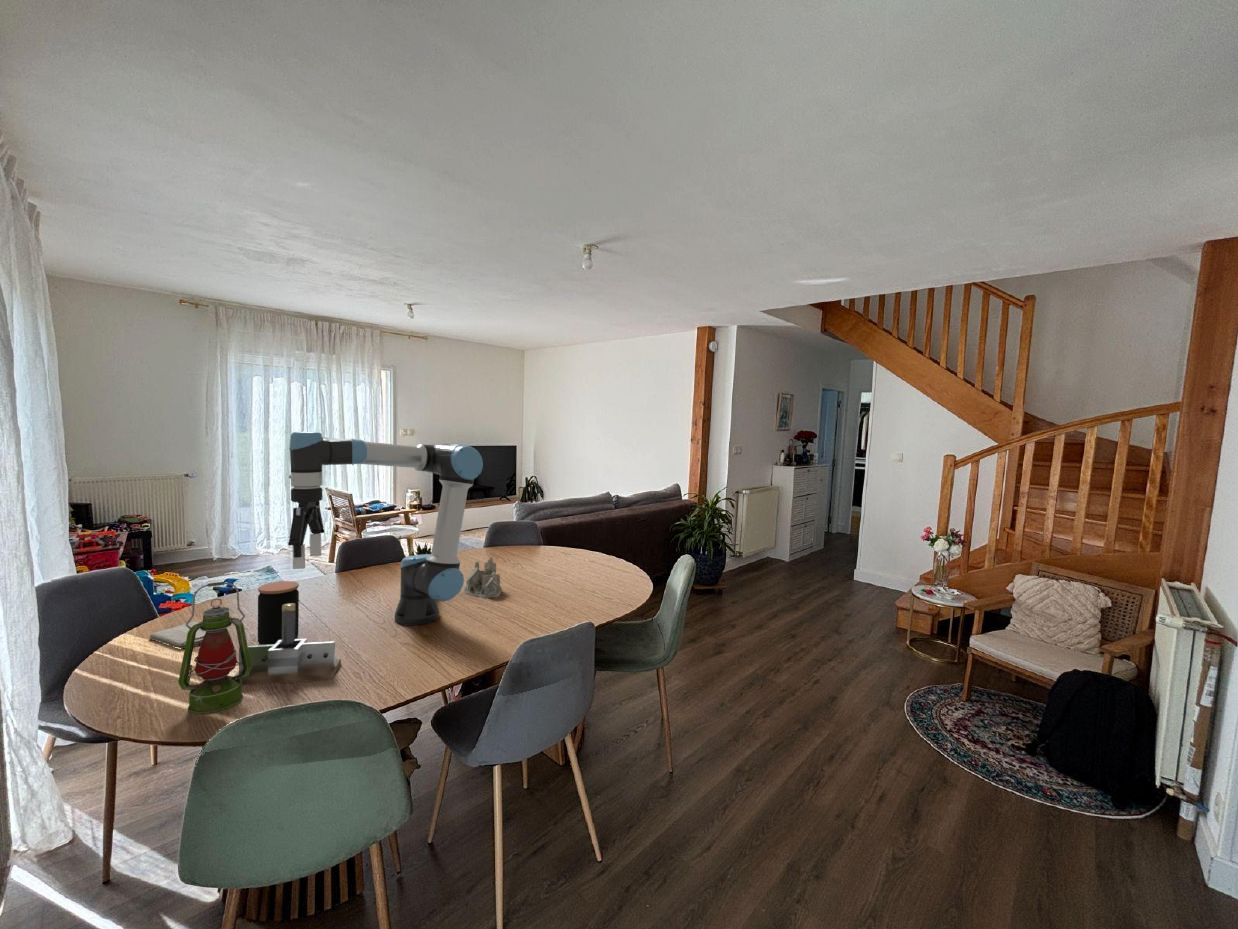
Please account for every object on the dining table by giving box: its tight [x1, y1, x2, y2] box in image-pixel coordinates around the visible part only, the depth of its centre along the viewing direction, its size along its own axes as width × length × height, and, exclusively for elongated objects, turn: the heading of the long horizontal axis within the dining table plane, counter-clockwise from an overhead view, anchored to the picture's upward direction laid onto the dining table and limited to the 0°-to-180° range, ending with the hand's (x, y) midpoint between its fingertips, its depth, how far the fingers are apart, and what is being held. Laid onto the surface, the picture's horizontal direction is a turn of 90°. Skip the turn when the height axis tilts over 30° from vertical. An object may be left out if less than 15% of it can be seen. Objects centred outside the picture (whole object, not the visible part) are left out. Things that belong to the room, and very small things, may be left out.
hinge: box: [238, 638, 336, 676], centre depth 138 cm, size 23×7×7 cm, turn 104°
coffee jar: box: [257, 580, 300, 645], centre depth 158 cm, size 11×11×18 cm
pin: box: [282, 603, 295, 648], centre depth 137 cm, size 3×3×18 cm
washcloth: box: [148, 621, 206, 650], centre depth 158 cm, size 12×18×3 cm, turn 68°
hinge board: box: [232, 658, 342, 686], centre depth 138 cm, size 24×9×2 cm, turn 104°
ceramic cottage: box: [463, 556, 503, 599], centre depth 216 cm, size 16×16×15 cm
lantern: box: [178, 581, 251, 716], centre depth 122 cm, size 14×11×30 cm
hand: (307, 562), depth 141 cm, fingers open, 13 cm apart
